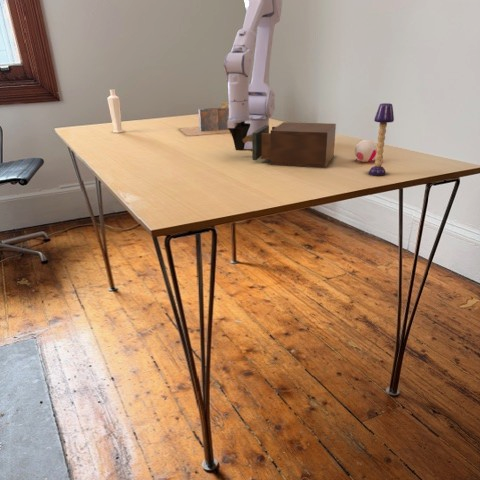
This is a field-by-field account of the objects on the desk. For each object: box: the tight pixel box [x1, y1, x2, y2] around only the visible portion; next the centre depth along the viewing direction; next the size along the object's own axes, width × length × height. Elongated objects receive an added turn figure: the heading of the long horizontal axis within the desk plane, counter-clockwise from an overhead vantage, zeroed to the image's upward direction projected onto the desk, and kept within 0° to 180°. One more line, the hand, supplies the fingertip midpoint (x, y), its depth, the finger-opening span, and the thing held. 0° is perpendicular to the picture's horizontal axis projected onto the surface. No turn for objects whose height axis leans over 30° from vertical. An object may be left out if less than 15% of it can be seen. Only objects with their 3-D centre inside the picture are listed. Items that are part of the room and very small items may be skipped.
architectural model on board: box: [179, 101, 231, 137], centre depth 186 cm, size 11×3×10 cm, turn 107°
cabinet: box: [269, 121, 337, 168], centre depth 138 cm, size 16×15×9 cm
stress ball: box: [354, 139, 377, 163], centre depth 136 cm, size 8×8×7 cm
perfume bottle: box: [106, 88, 124, 134], centre depth 185 cm, size 5×4×15 cm
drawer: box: [243, 124, 276, 161], centre depth 140 cm, size 19×13×7 cm
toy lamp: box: [368, 102, 395, 176], centre depth 121 cm, size 5×5×17 cm
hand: (239, 149), depth 145 cm, fingers closed, pressing on drawer
